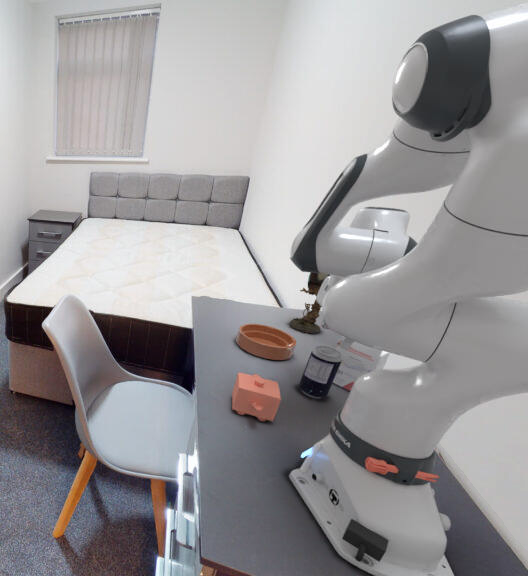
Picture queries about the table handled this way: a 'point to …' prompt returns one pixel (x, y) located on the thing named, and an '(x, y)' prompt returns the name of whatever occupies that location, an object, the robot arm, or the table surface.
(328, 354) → the beverage can
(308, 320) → the sculpture
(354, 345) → the ink cartridge box
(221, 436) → the table surface
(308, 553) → the table surface
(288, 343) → the orange round dish
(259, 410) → the pink cube teapot
